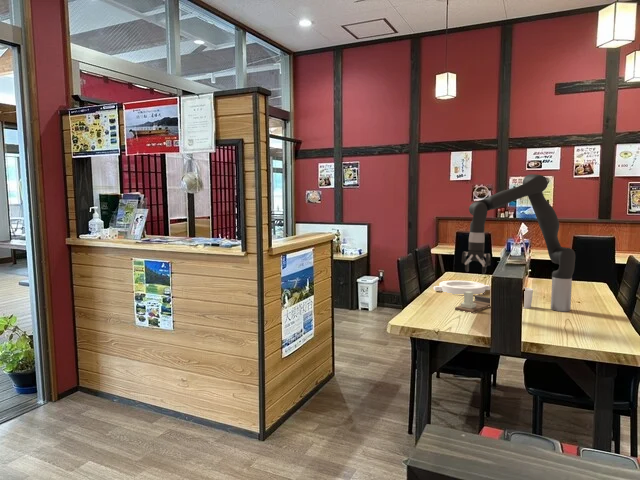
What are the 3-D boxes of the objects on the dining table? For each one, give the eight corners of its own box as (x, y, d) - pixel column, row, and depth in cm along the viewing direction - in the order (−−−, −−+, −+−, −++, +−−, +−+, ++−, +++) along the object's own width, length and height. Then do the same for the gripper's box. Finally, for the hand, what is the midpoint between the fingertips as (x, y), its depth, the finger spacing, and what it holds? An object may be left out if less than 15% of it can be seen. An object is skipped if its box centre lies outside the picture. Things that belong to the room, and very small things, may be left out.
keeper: (465, 305, 239) (465, 290, 238) (476, 307, 235) (476, 292, 234) (460, 306, 235) (461, 291, 235) (471, 308, 231) (471, 293, 230)
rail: (476, 302, 252) (476, 295, 252) (493, 305, 245) (493, 298, 244) (454, 309, 235) (455, 302, 235) (472, 313, 228) (472, 305, 228)
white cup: (517, 304, 247) (517, 286, 246) (532, 306, 243) (533, 288, 242) (515, 307, 240) (516, 289, 239) (531, 309, 236) (532, 290, 235)
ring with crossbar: (491, 291, 285) (492, 283, 285) (474, 298, 265) (474, 290, 264) (450, 285, 304) (450, 278, 304) (431, 292, 283) (431, 284, 283)
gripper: (493, 241, 224) (491, 273, 226) (466, 240, 234) (465, 270, 235) (487, 242, 219) (485, 275, 220) (460, 240, 228) (458, 272, 230)
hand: (475, 272), depth 228 cm, fingers open, 8 cm apart
